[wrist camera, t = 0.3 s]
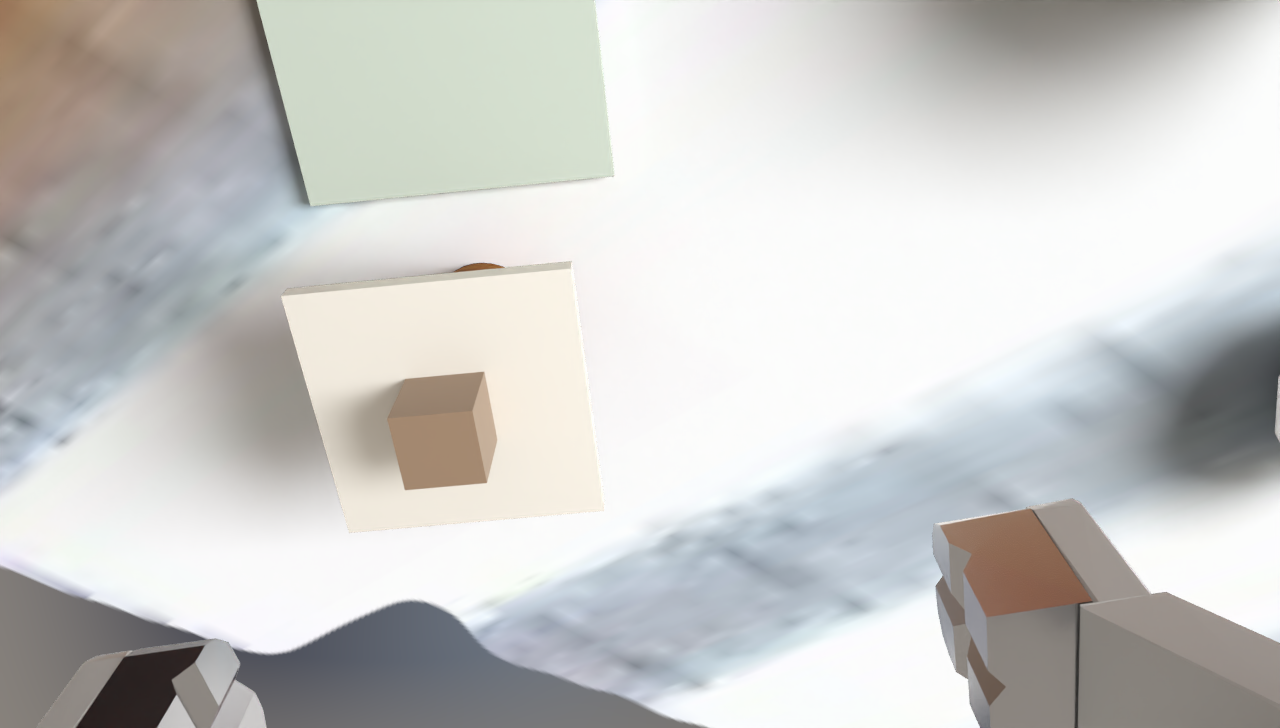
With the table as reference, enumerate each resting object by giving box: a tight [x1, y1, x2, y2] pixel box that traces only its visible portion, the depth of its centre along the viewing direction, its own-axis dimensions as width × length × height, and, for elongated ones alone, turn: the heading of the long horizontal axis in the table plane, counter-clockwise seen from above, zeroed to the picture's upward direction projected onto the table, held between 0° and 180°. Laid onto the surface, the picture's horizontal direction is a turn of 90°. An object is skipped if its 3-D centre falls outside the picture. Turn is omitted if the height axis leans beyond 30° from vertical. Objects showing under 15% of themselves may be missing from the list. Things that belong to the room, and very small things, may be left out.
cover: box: [281, 261, 605, 533], centre depth 46 cm, size 14×14×5 cm
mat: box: [257, 0, 614, 206], centre depth 52 cm, size 16×18×1 cm
